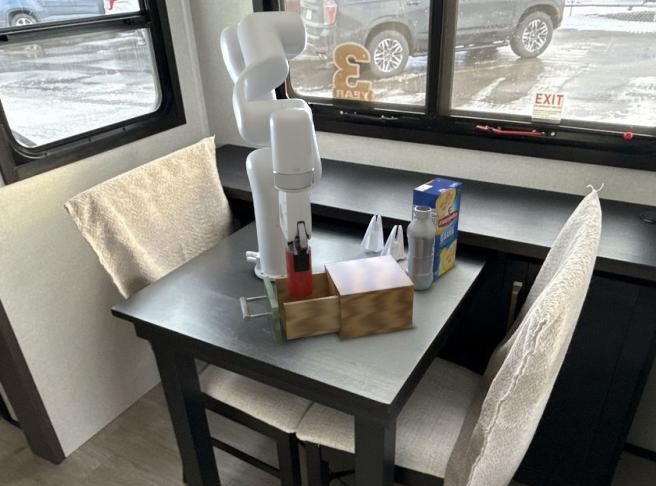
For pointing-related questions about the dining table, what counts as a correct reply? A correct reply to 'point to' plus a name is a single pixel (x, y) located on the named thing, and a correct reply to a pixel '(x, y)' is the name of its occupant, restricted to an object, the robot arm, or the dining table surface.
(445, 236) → the blue tall box
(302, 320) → the drawer
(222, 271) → the dining table surface
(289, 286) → the can
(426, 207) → the silver bottle
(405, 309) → the cabinet
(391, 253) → the shaker set
